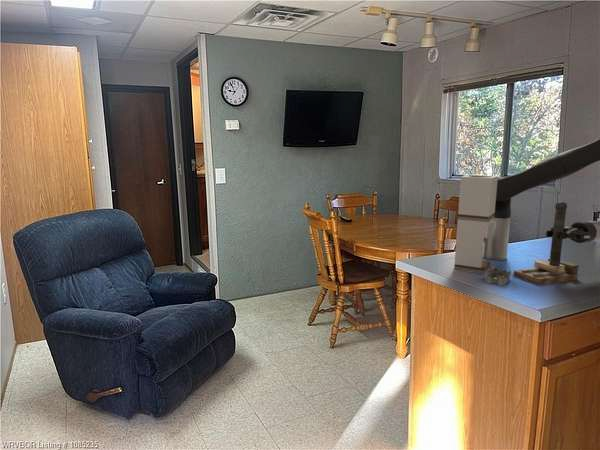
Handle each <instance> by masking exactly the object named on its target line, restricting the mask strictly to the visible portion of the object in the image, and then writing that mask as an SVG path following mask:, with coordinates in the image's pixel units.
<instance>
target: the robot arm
mask: <svg viewBox="0 0 600 450" xmlns="http://www.w3.org/2000/svg"><path fill="white" fill-rule="evenodd" d="M599 161H600V138H597V139H595V140H594V141H590V142H589V143H587V144H585V145H581V146H578V147H575V148H572V149H569V150H566V151H563V152H561V153H560V152H559V153H557V154H555V155H553V156H550V157H547V158H545V159H542V160H541V161H539V162H537V163H535V164H534V165H532V166H530V167H529V168H527V169H525V170H524V171H521V172H518V173H516V174H512V175H509V176H505V177H503V176H498V180H497V191H496V203H495V214H494V222H493V223H491V224H490V225H489V226H488V234H487V241H486V242H484V244H483V255H482V259H488V260H494V261H495V260H498V261H501V260H502V261H503V260H507V258H508V248H509V239H510V238H509V237H510V226H511V216H512V215H511V214H512V210H511V208H512V207H511V205H512V204H511V203H512V198H513V197H516V196H518V195H519V194H521V193H524V192H526V191H529V190H530V189H531V190H532V189H534V188H537V187H541V186H544V185H546V184H549V183H552V182H556V181H558V180H561V179H563V178H566V177H568V176H570V175H573V174H575V173H577V172H579V171H581V170H583V169H585V168H586V167H588V166H591V165H592V164H595V163H596V162H599ZM552 235H553V227H550V230H546V232H545V237H546V238H552ZM556 239H563V240H567V241H568V240H570V241H573V242H575V243H576V244H583V243H584V244H585V243H586V244H587V243H595V242H598V241H600V220H588V221H586V220H585V221H577V222H574V223H573V224H571V226H566V227H564V232H560V233H556Z"/></svg>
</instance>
